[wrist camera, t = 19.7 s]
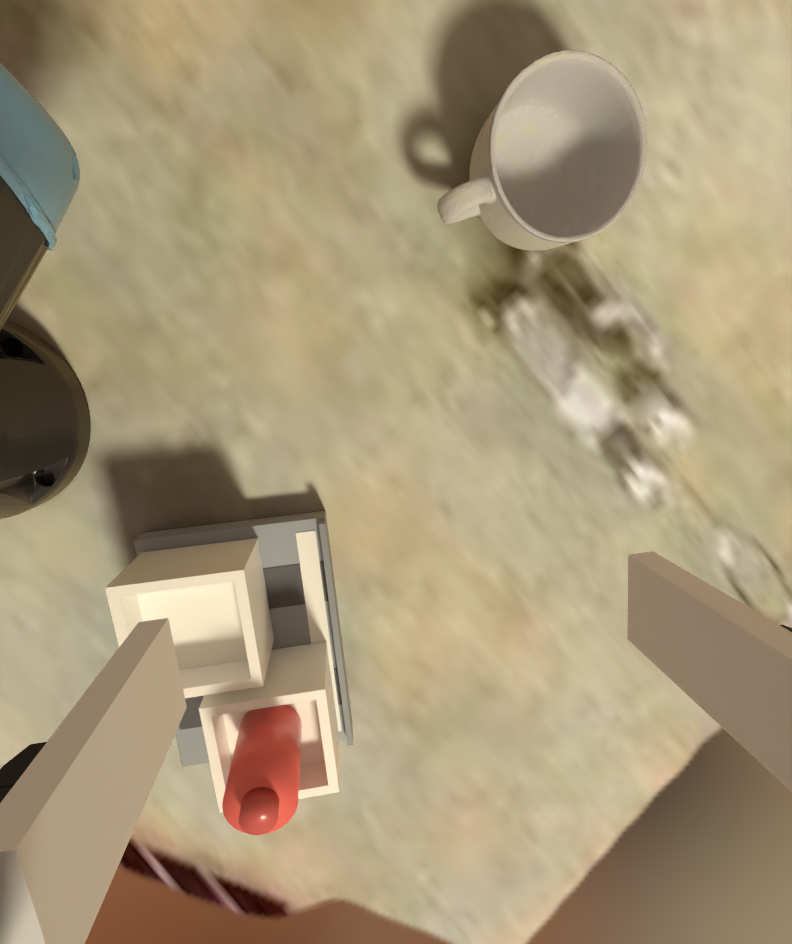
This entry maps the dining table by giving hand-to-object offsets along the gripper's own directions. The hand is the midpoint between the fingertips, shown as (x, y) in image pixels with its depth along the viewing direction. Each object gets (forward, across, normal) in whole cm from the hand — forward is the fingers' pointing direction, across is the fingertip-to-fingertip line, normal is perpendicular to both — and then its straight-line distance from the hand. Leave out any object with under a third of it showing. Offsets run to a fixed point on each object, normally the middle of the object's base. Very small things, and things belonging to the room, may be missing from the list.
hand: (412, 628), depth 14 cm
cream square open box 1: (+27, -13, -10) cm, 31 cm away
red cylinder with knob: (+22, -10, -20) cm, 32 cm away
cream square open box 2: (+27, -9, -20) cm, 35 cm away
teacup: (+29, +14, +19) cm, 37 cm away
